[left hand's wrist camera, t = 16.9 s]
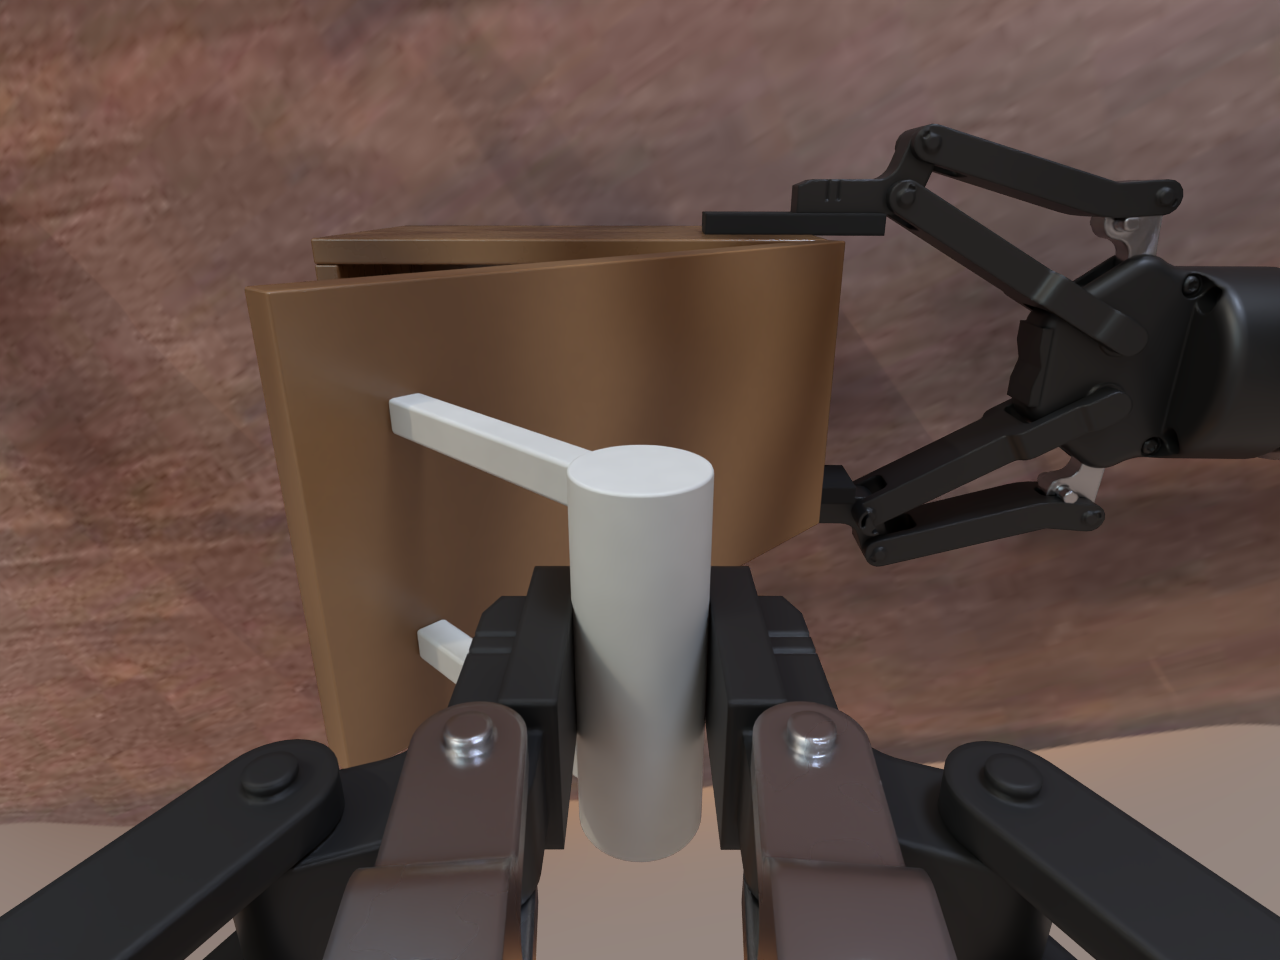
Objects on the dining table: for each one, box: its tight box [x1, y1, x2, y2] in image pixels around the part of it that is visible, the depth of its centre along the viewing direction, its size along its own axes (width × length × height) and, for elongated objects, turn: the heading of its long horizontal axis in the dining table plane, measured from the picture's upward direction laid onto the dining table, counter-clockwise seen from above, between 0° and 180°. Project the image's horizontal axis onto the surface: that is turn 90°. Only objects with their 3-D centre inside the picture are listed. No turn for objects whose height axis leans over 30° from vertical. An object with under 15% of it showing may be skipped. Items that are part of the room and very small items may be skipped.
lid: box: [245, 240, 845, 862], centre depth 18 cm, size 18×10×8 cm
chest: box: [311, 226, 826, 281], centre depth 32 cm, size 17×10×10 cm, turn 90°
